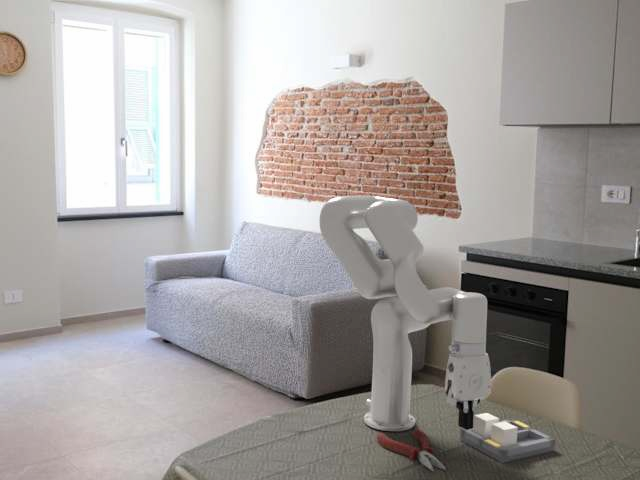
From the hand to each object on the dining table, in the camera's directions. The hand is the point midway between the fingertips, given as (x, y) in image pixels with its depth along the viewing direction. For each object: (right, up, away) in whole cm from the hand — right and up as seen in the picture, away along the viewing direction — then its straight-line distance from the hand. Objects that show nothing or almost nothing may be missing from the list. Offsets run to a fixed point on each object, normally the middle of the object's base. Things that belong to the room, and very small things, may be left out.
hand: (465, 427), depth 168 cm
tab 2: (+8, -4, -1) cm, 9 cm away
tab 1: (+5, -4, +4) cm, 8 cm away
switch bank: (+10, -5, +4) cm, 12 cm away
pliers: (-13, -6, -2) cm, 15 cm away
